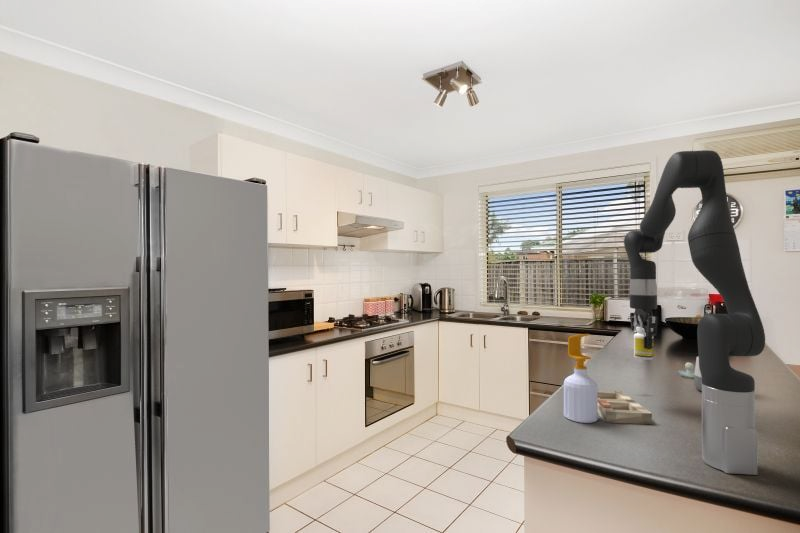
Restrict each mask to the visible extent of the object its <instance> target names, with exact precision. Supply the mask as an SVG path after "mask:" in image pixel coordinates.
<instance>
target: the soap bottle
mask: <svg viewBox="0 0 800 533" xmlns="http://www.w3.org/2000/svg"><path fill="white" fill-rule="evenodd" d="M587 336H590V333H578V334H573V335H570V336H569V337H568V338H567V353H568V354H567V355H568V356H569V357H570V358H573V359H575V362H577V364H576V365H574V368H573V369H574V370H573V372H574V373H572V374H571V375H569V376H567V377H566V378H565V379H564V381H563V416H564V417H565V418H566V419H568V420H569V421H572V422H577V423H580V424H581V423H582V424H583V423H584V424H591V423H595V422H597V421H598V419H599V418H598V415H599V414H598V391H599V390H598V389H599V388H598V383H597V381H596V380H595V379H594V378H592V377H591V376H589V375H588V374H587V372H588V371H587V370H588V369H587V366H586V365H584V363H585V362H587V361H586V360H591V358H592V357H590V356H588V355H584V354H582V351H581V348H582V347H581V342H582V341H581V340H582V338H584V337H587Z"/></svg>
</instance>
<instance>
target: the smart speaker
mask: <svg viewBox="0 0 800 533" xmlns="http://www.w3.org/2000/svg"><path fill="white" fill-rule="evenodd" d="M695 360H696V361H695V365H694V372H693V374H694V379H693V383H694V387H695V389H696V390H697V391H699V392H700V393H702V376H701V372H700V368H699V356H696V359H695Z"/></svg>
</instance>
